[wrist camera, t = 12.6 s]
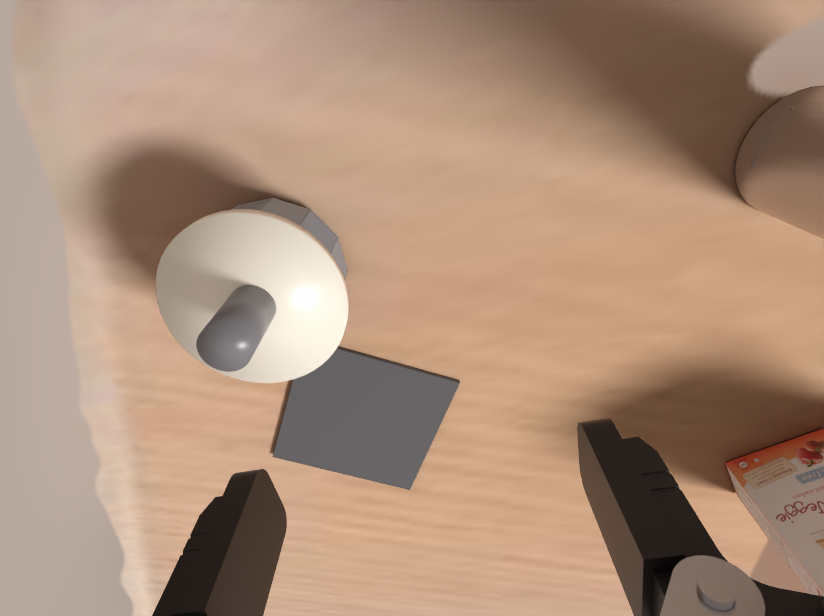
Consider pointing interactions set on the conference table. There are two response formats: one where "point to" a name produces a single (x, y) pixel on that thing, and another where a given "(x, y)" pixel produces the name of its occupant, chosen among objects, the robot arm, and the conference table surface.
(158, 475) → the conference table surface
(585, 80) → the conference table surface
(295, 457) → the mat
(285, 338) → the lid
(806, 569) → the cracker box
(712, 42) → the conference table surface
